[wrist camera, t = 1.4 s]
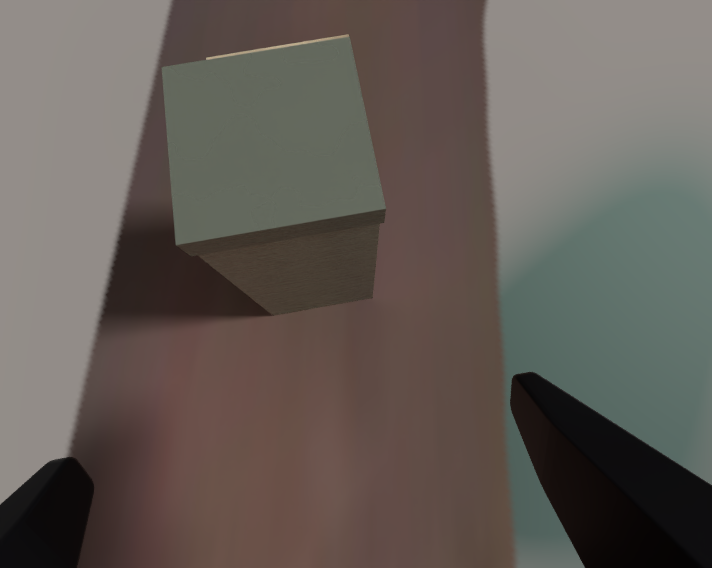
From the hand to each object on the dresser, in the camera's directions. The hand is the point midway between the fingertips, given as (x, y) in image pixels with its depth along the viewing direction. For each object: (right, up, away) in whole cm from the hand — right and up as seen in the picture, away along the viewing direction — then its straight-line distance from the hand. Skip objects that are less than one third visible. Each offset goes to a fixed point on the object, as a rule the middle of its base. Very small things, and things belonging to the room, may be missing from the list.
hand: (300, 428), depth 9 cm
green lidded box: (-1, +4, +15) cm, 16 cm away
